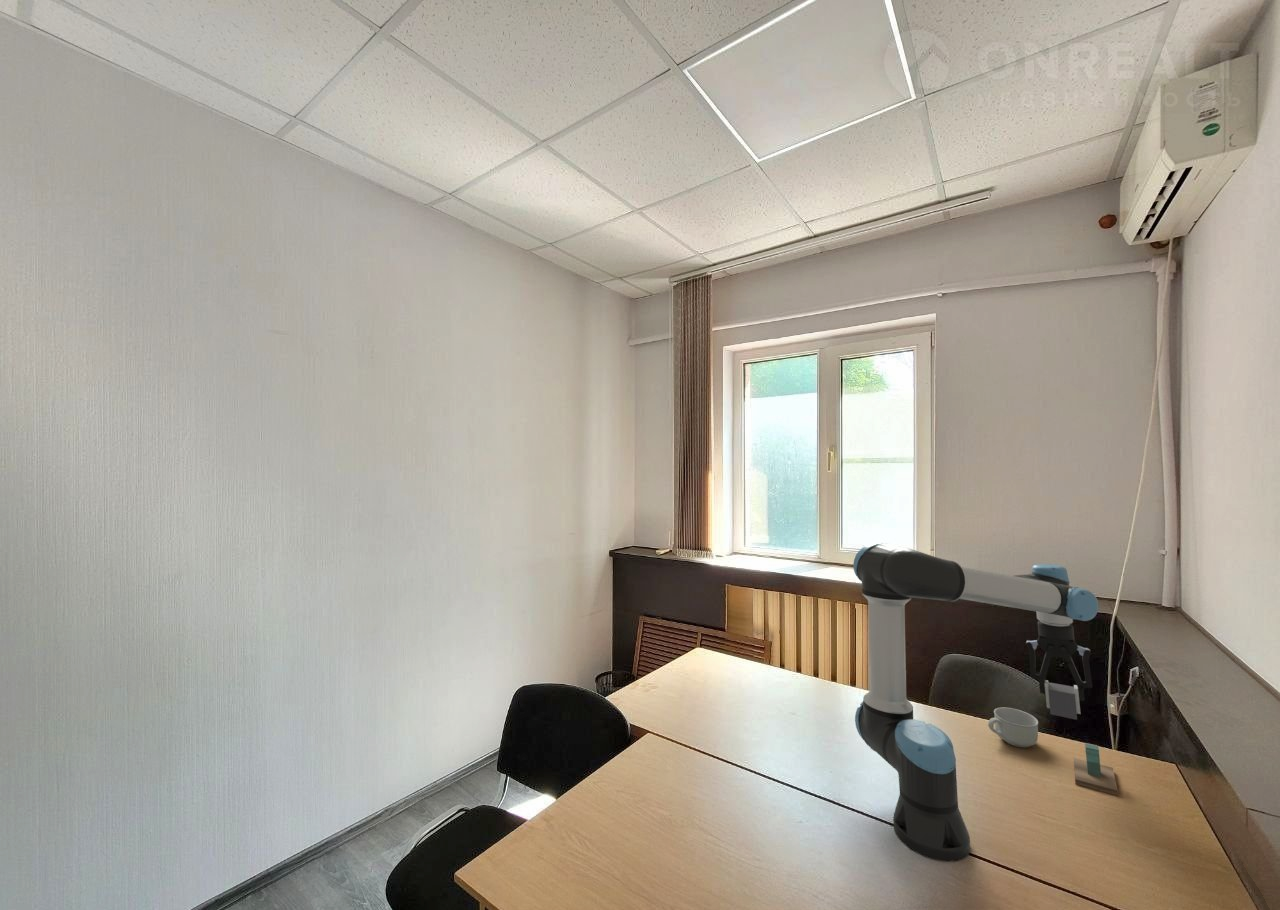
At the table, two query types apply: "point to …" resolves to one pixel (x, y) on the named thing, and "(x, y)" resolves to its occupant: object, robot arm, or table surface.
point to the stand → (1094, 772)
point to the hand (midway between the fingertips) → (1063, 708)
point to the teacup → (1015, 726)
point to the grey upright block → (1062, 700)
